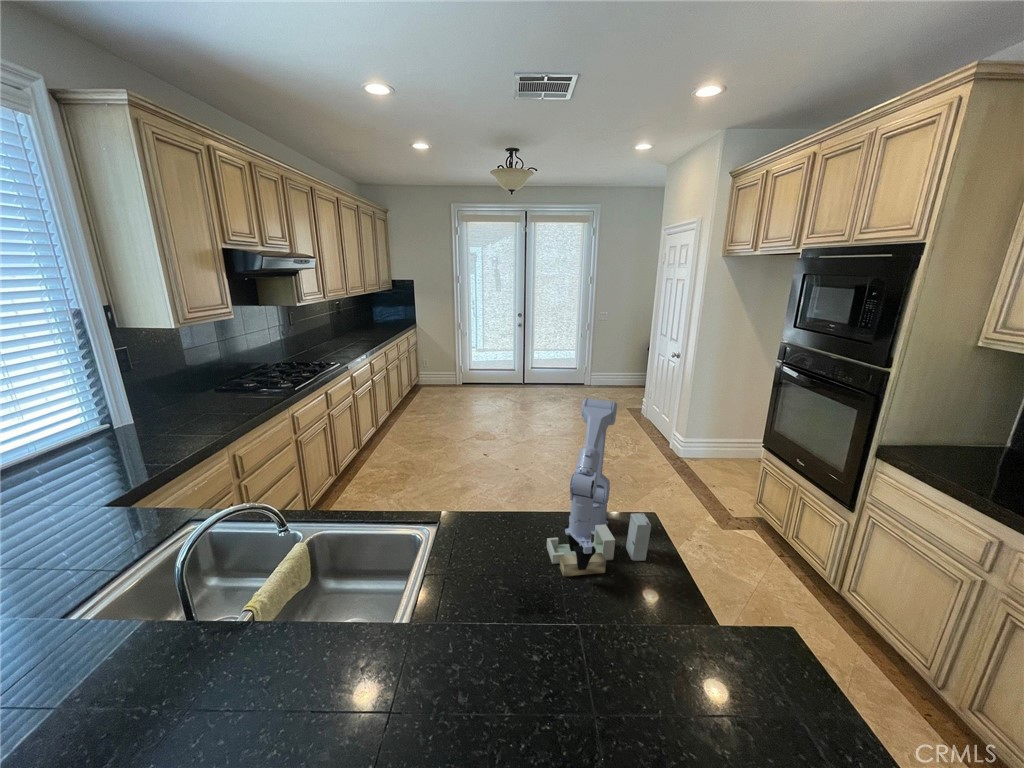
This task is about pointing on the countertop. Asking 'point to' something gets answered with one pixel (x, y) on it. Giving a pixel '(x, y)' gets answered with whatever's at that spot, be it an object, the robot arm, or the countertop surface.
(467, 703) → the countertop surface
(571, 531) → the robot arm
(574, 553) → the endcap rail
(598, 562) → the tan rectangular block
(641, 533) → the skincare box
